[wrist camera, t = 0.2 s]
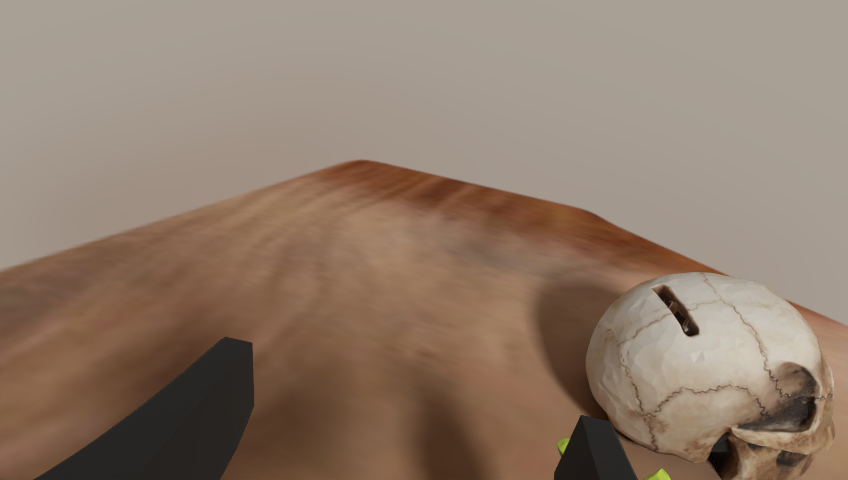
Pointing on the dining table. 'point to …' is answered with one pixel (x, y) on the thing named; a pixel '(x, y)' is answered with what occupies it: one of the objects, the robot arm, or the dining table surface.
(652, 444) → the coin bank
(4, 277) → the dining table surface
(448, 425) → the dining table surface
